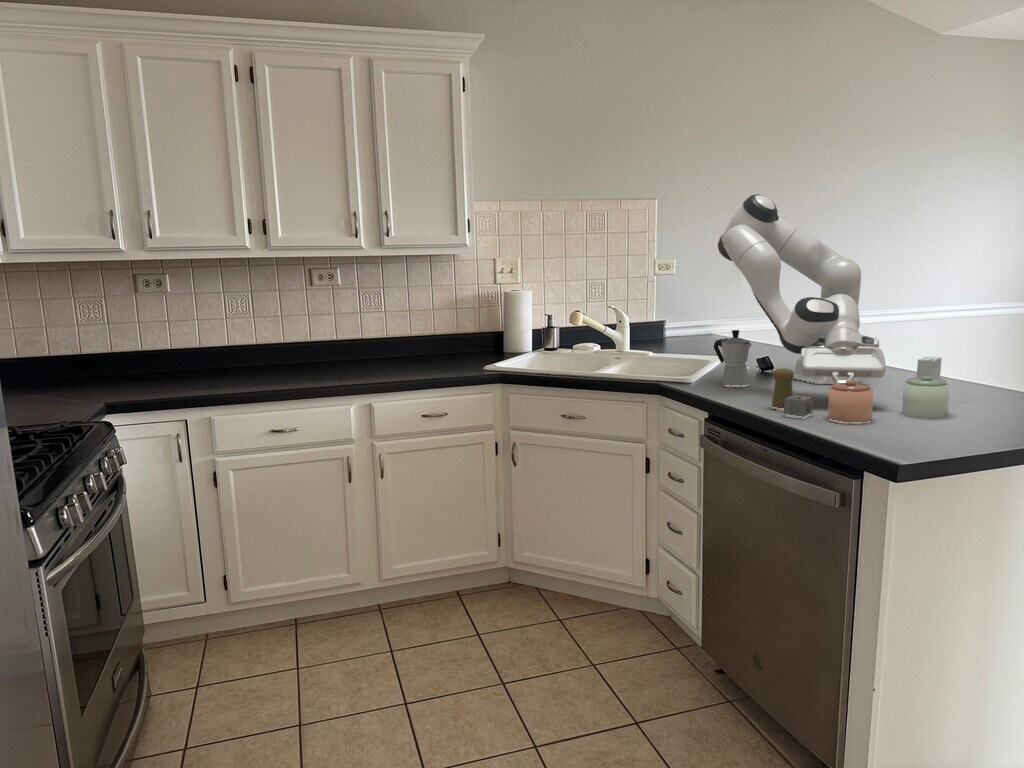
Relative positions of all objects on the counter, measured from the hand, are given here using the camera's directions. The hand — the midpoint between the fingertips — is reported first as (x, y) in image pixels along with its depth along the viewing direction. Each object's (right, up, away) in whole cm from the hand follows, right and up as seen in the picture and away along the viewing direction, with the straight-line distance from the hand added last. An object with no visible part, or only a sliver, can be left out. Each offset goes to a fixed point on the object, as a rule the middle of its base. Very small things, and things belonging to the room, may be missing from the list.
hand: (842, 388), depth 188 cm
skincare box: (+26, -4, +8) cm, 28 cm away
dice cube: (-12, -8, -1) cm, 14 cm away
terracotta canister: (-2, -8, -7) cm, 11 cm away
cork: (-12, -6, +8) cm, 16 cm away
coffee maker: (-15, 0, +45) cm, 48 cm away
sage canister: (+18, -7, -6) cm, 20 cm away
